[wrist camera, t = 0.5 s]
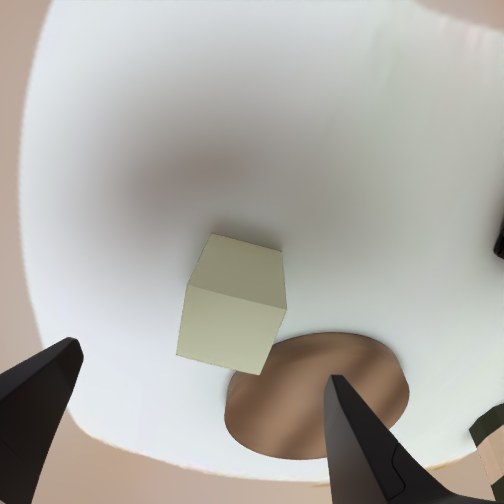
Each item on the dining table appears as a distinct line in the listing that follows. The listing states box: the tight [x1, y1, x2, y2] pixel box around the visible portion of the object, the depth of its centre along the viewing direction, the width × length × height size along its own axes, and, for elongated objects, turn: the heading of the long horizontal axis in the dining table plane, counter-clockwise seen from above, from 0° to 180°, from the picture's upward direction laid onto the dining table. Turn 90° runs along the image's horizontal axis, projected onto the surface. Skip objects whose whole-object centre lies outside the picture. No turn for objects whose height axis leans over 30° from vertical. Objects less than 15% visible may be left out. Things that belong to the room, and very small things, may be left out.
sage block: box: [176, 233, 287, 375], centre depth 19 cm, size 5×5×7 cm
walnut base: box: [224, 333, 409, 460], centre depth 26 cm, size 18×18×3 cm
